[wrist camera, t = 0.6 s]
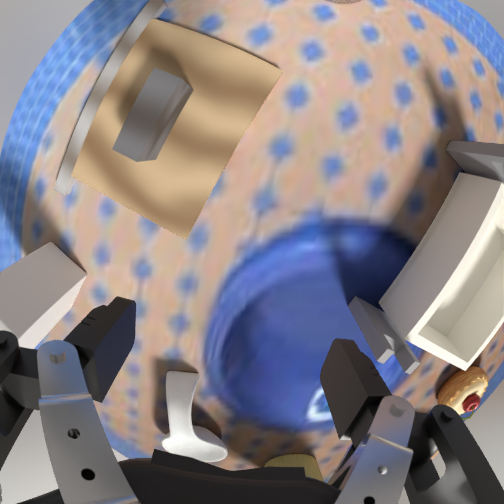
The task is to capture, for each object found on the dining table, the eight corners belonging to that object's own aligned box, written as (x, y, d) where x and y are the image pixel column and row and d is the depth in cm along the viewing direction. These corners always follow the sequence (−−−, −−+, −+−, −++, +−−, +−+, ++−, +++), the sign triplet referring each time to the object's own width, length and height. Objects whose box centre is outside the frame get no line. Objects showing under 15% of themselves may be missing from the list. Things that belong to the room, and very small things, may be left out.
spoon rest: (230, 450, 45) (228, 480, 39) (172, 445, 45) (166, 473, 39) (222, 371, 37) (217, 409, 30) (143, 365, 37) (128, 399, 31)
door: (155, 4, 21) (137, -21, 15) (293, 57, 24) (303, 34, 18) (62, 187, 29) (29, 196, 22) (179, 254, 31) (162, 278, 25)
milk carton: (72, 307, 34) (-4, 394, 16) (38, 276, 32) (-46, 347, 15) (88, 273, 32) (-5, 364, 14) (51, 240, 31) (-51, 308, 13)
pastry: (480, 374, 41) (500, 399, 32) (440, 409, 43) (456, 437, 35) (472, 351, 37) (497, 380, 29) (425, 393, 40) (445, 426, 32)
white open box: (450, 140, 26) (510, 145, 16) (514, 224, 29) (559, 246, 19) (347, 305, 33) (376, 360, 23) (431, 350, 36) (462, 393, 26)
